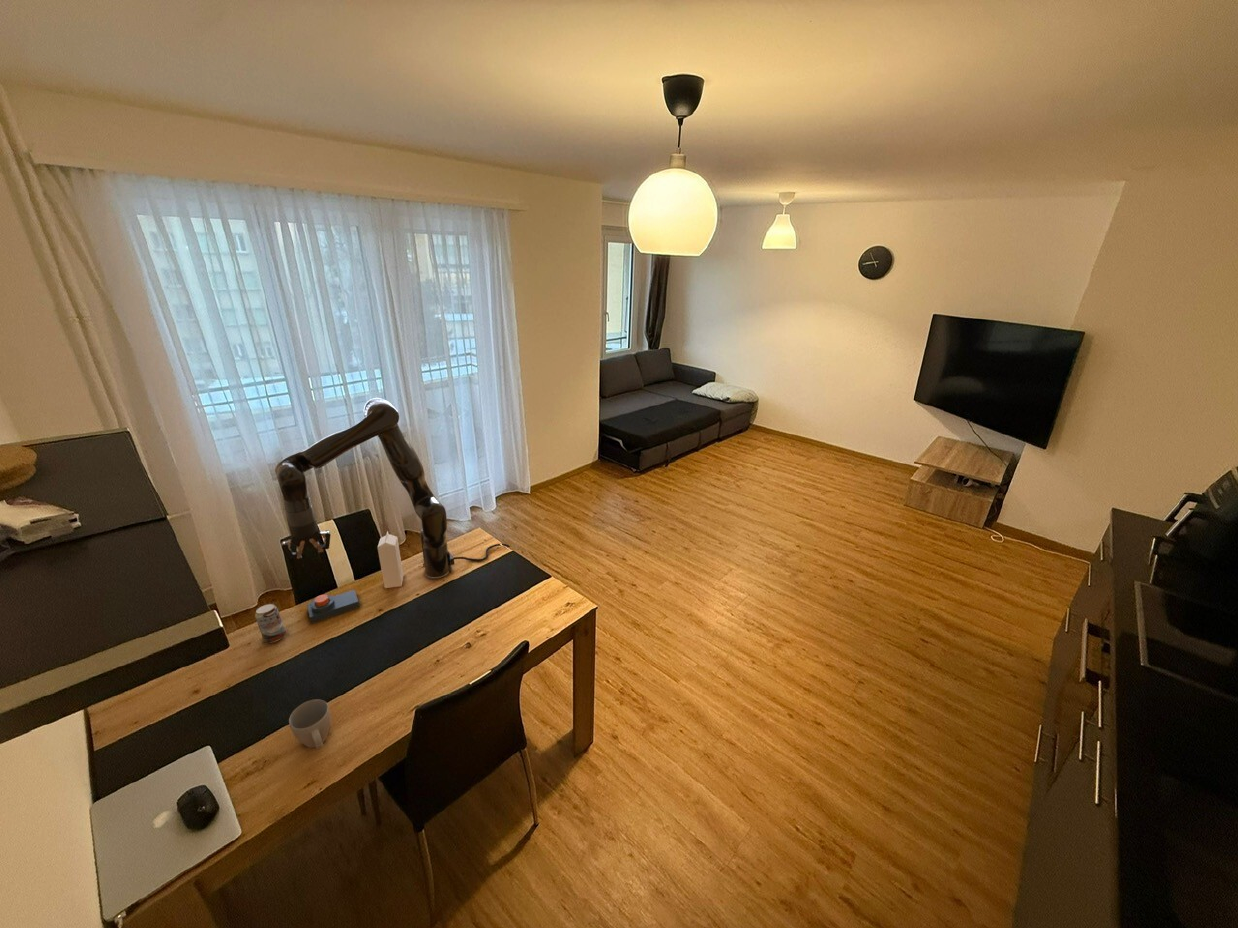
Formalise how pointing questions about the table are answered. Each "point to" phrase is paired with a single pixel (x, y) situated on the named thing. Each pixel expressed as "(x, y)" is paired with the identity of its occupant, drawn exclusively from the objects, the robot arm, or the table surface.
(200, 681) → the table surface
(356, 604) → the button base
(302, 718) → the mug
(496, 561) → the table surface
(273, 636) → the beverage can
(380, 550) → the milk
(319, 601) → the release button
